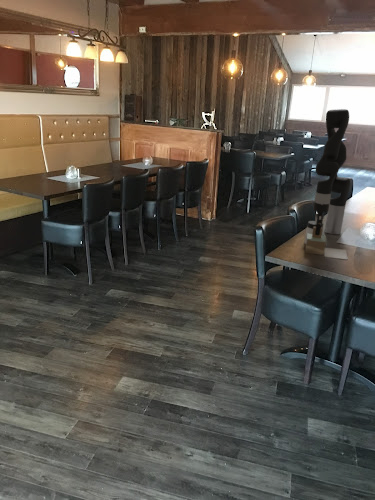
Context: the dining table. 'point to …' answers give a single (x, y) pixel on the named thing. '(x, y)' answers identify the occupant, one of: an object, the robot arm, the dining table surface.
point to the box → (315, 247)
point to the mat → (335, 253)
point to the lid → (316, 236)
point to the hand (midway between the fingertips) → (317, 232)
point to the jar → (310, 228)
